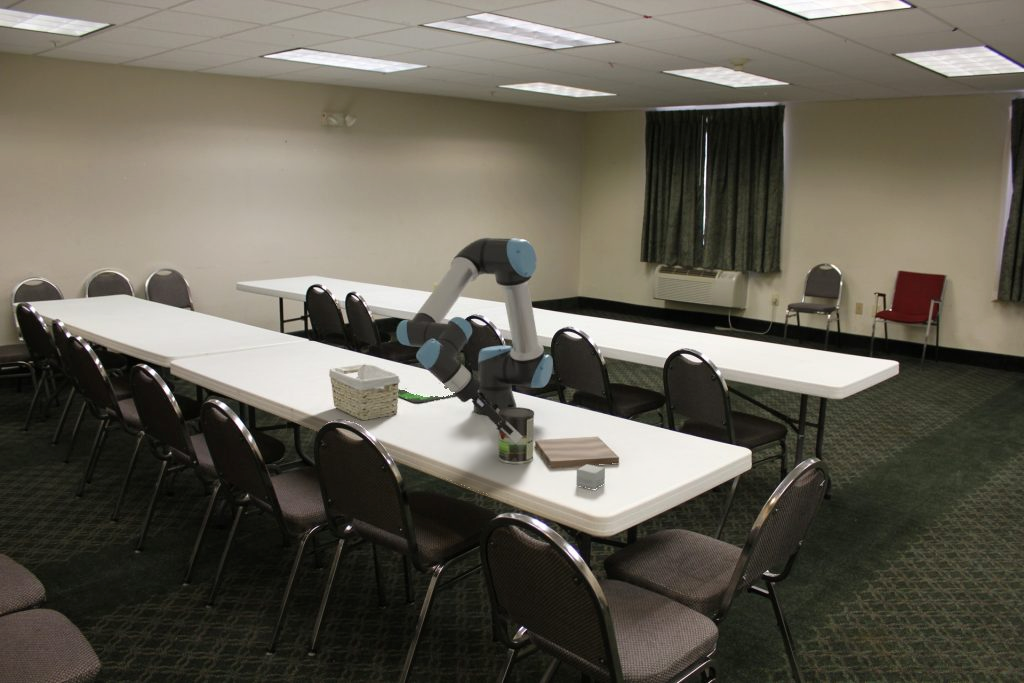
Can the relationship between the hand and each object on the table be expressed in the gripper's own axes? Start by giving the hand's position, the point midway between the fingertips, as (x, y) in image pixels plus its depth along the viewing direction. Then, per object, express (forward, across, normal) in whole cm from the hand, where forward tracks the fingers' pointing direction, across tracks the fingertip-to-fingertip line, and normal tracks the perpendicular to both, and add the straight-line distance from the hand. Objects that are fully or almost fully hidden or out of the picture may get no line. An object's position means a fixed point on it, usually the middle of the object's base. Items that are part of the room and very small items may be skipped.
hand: (514, 432), depth 228 cm
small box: (+17, +24, +5) cm, 30 cm away
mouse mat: (-6, -82, -18) cm, 85 cm away
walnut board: (+19, -1, +8) cm, 20 cm away
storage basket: (-24, -60, -36) cm, 74 cm away
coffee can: (+6, -1, -5) cm, 8 cm away
